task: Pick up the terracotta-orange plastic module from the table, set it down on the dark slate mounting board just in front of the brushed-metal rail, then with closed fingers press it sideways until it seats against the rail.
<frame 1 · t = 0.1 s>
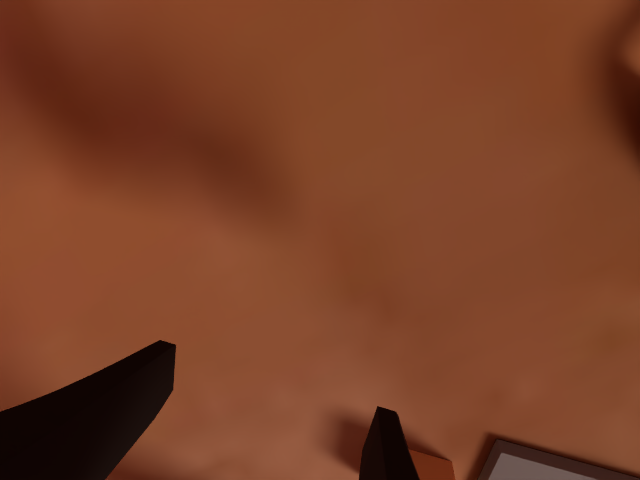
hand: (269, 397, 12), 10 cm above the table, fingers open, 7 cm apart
module: (408, 470, 25), on the table
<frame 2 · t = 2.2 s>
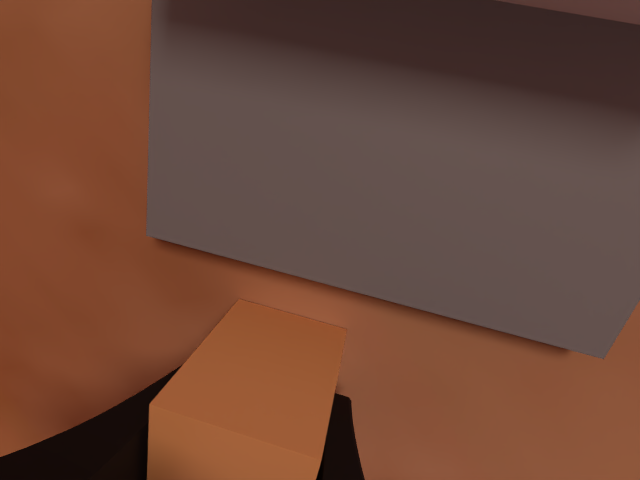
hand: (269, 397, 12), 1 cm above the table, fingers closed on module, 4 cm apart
board: (409, 101, 9), on the table
module: (281, 369, 13), on the table, touching gripper
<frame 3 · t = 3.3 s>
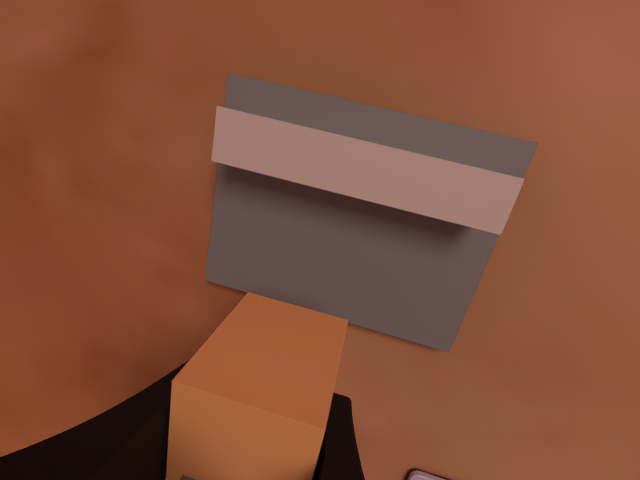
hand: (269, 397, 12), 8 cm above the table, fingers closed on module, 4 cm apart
board: (348, 217, 18), on the table
module: (286, 358, 14), point 6 cm above the table, touching gripper
when the fingers open (3 cm above the table, at t = 4.8 s): module stays where it is, resting on board.
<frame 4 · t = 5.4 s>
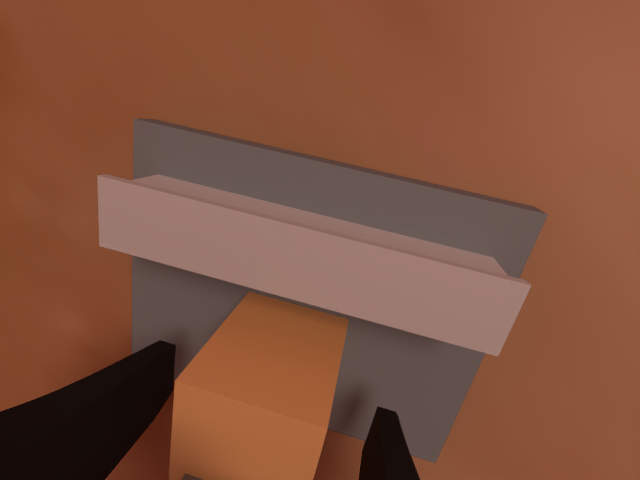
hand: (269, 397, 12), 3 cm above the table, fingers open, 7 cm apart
board: (303, 294, 14), on the table
module: (287, 357, 14), point 1 cm above the table, touching board
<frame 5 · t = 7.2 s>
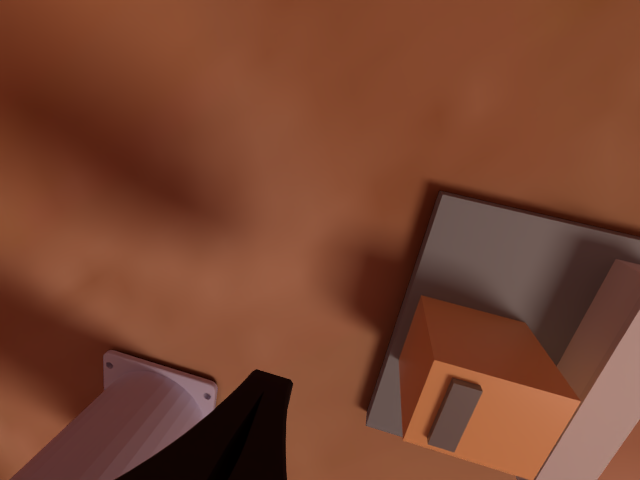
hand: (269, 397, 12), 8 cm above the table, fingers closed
board: (502, 344, 18), on the table
module: (458, 342, 17), point 1 cm above the table, touching board
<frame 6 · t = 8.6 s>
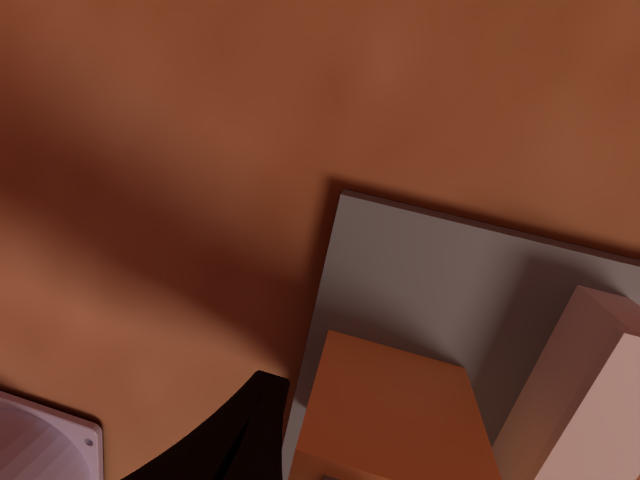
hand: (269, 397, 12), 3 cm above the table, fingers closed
board: (437, 389, 14), on the table
module: (381, 390, 13), point 1 cm above the table, touching gripper
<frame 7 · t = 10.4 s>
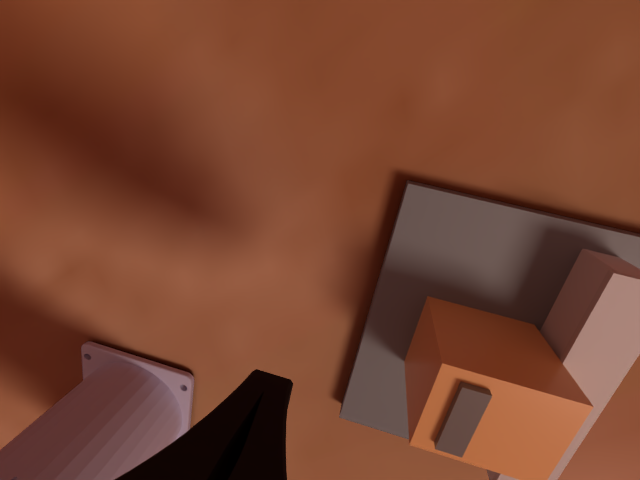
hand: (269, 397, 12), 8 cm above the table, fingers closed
board: (473, 335, 18), on the table
module: (465, 344, 17), point 1 cm above the table, touching board
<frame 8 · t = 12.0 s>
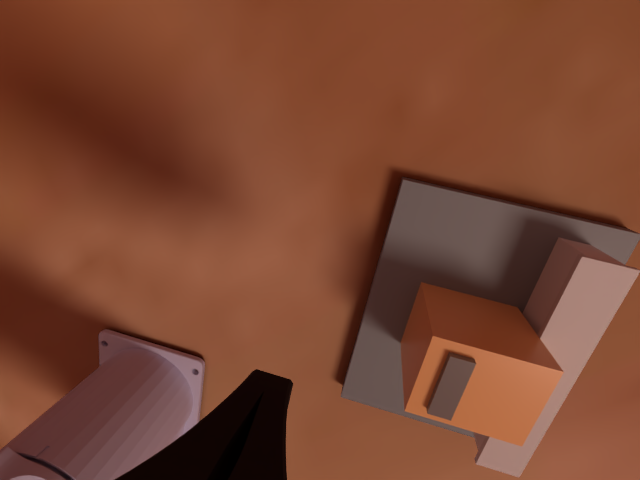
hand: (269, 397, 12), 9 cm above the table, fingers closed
board: (463, 319, 20), on the table
module: (455, 326, 19), point 1 cm above the table, touching board
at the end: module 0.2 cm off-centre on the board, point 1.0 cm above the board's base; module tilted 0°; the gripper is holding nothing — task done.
